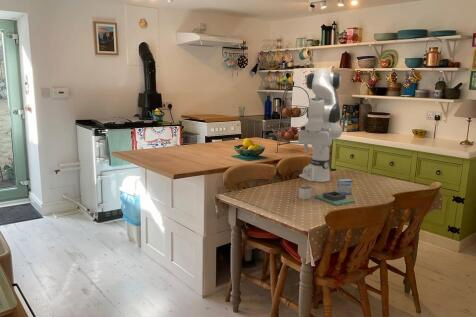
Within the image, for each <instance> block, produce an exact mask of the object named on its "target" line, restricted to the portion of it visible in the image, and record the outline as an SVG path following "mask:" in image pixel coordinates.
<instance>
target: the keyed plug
mask: <svg viewBox="0 0 476 317" xmlns="http://www.w3.org/2000/svg"><path fill="white" fill-rule="evenodd" d="M312 190H313V188H312V187H311V186H310V185H302V186H301V185H300V186H299V187H298V199H301V200H308V199H312V192H313V191H312Z"/></svg>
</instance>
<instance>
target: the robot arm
mask: <svg viewBox="0 0 476 317" xmlns="http://www.w3.org/2000/svg"><path fill="white" fill-rule="evenodd" d="M341 84H342V78H341V74H340V73H339V72H336V71H335V72H333V71H332V72H330V71H329V70H328V69H326V68H322V67H321V68H319V69H317V70H316V71H315V72H310V73H309V74H307V75H306V79H305V85H306V87H307V89H309V90H311V91H312V93H313V94H314V95H315V96H314V97H311V98H310V99H309V101H308V107H307V108H306V119H307V122H306V123H305V124H303V125H301V126H300V127H299V133H298V138H297V141H298V144H302V145H303V148H304V152H305V153H310V149H309V147H308V146H309V145H311V148H312V151H311V152H312V156H311V157H312V158H309V159H308V160H309V161H310V162H309V163H308V164H307V165H306V166H304V168H303V169H302V173H301V174H299V176H298V177H300V178H302V179H304V180H306V181H308V182H320V183H321V182H324V183H325V182H329V181H331V175H330V160H331V159H330V147H331V146H332V144H333V140H335V139H339V138H340V137H341V136H342V134H343V128H342V125H341V124H340V123H338V122H339V121H340V120H341V117H342V111H341V108H340V107H341V106H340V103H339V98H338V92H337V90H338V89H339V88H340V86H341ZM329 146H330V147H329Z"/></svg>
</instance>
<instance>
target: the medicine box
mask: <svg viewBox="0 0 476 317" xmlns="http://www.w3.org/2000/svg"><path fill="white" fill-rule="evenodd" d="M335 191H336V192H339V193H342V194H345V195H346V196H347V195H348V196H349V195H352V192H353V180H352V179H350V178H347V179H345V178H344V179H343V178H342V179H336V190H335Z"/></svg>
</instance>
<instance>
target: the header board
mask: <svg viewBox="0 0 476 317" xmlns="http://www.w3.org/2000/svg"><path fill="white" fill-rule="evenodd" d="M313 199H317V200H319V201H322V202H324V203H327V204H329V205H333V206H335V207H340V206H344V205H349V204H354V203H355V202H356V200H354V199H352V198H348V197H347V195H345V194H342V193H339V192H336V190H333V191H327V192H323V193H322V194H317V195H313ZM348 203H349V204H348ZM343 204H344V205H343ZM339 205H340V206H339Z"/></svg>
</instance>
